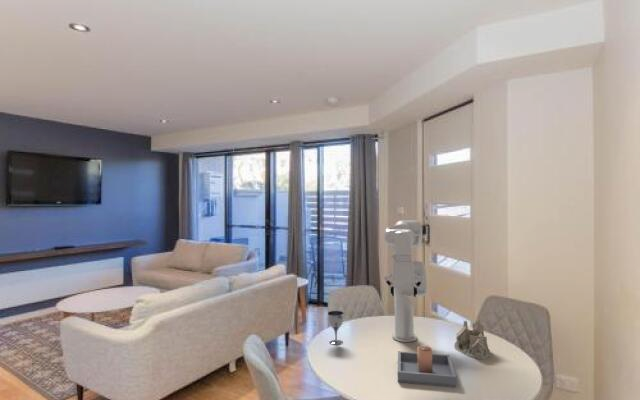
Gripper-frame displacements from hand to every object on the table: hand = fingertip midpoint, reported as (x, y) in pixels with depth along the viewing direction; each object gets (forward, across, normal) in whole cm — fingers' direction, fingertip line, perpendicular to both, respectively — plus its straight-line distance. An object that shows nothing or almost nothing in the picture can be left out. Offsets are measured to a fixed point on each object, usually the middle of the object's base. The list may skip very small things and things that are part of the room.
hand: (403, 295), depth 166 cm
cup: (+27, +8, -13) cm, 31 cm away
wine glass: (+28, -34, +12) cm, 46 cm away
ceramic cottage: (+29, +31, +13) cm, 44 cm away
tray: (+28, +8, -13) cm, 32 cm away
